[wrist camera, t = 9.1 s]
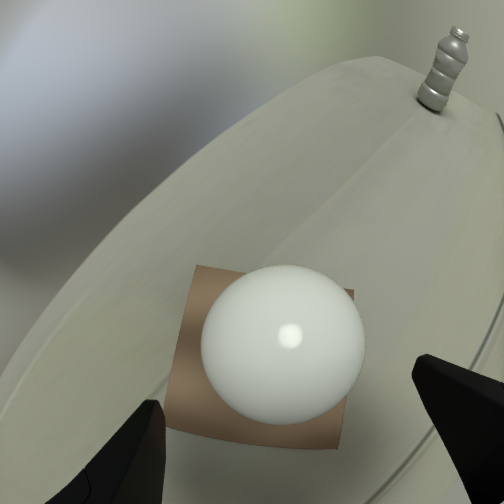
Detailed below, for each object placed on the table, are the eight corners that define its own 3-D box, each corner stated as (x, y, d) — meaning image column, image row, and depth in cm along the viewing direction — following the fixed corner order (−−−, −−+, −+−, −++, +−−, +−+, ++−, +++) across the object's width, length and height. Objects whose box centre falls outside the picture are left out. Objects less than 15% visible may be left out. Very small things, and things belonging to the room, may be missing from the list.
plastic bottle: (409, 93, 42) (438, 18, 25) (432, 101, 43) (462, 31, 25) (423, 111, 39) (458, 29, 22) (446, 118, 40) (482, 45, 22)
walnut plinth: (327, 442, 16) (337, 449, 14) (169, 420, 17) (160, 425, 15) (342, 300, 22) (353, 289, 20) (200, 277, 22) (196, 264, 20)
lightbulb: (197, 355, 17) (144, 315, 7) (268, 298, 19) (300, 200, 9) (260, 425, 15) (290, 480, 5) (330, 362, 17) (428, 329, 7)
